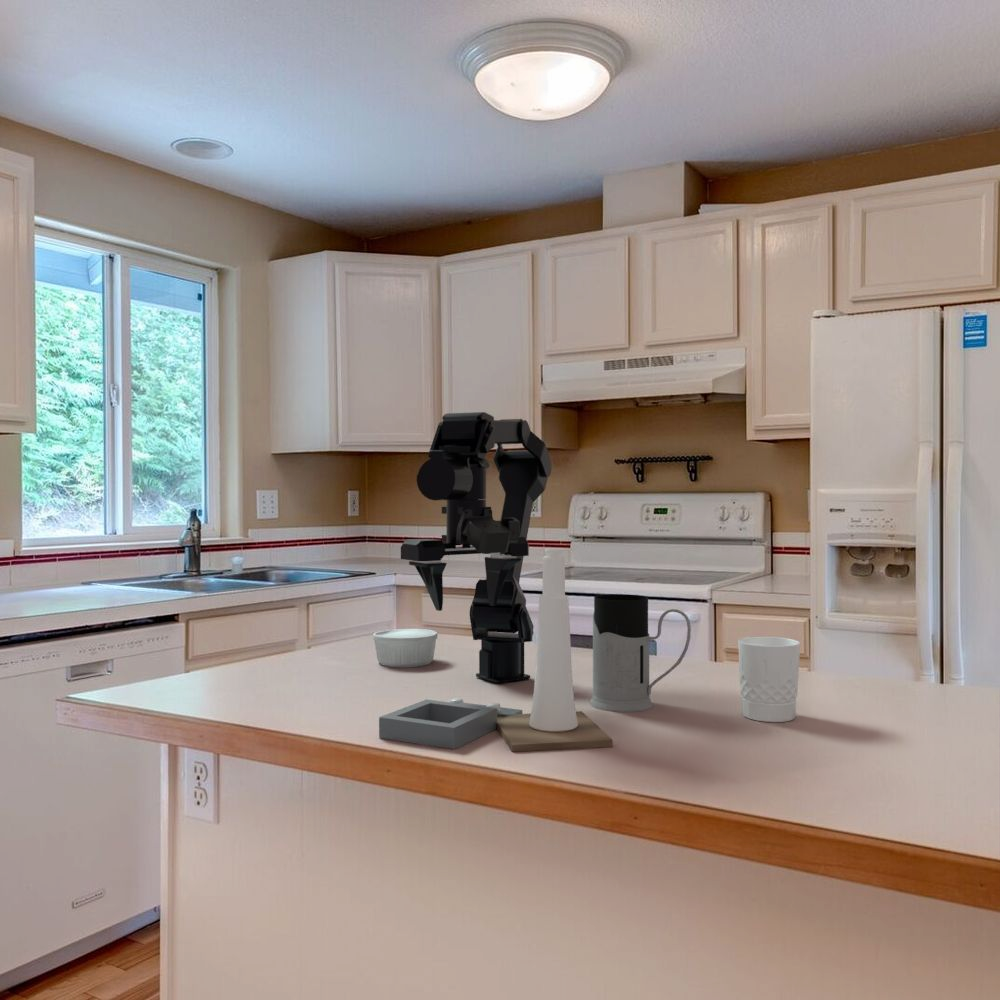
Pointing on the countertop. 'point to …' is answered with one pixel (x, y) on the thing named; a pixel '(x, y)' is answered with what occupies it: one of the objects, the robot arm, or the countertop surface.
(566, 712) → the cosmetic bottle
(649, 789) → the countertop surface
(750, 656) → the white cup
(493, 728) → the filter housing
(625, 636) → the glass holder
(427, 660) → the ramekin
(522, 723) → the walnut pad
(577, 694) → the countertop surface
